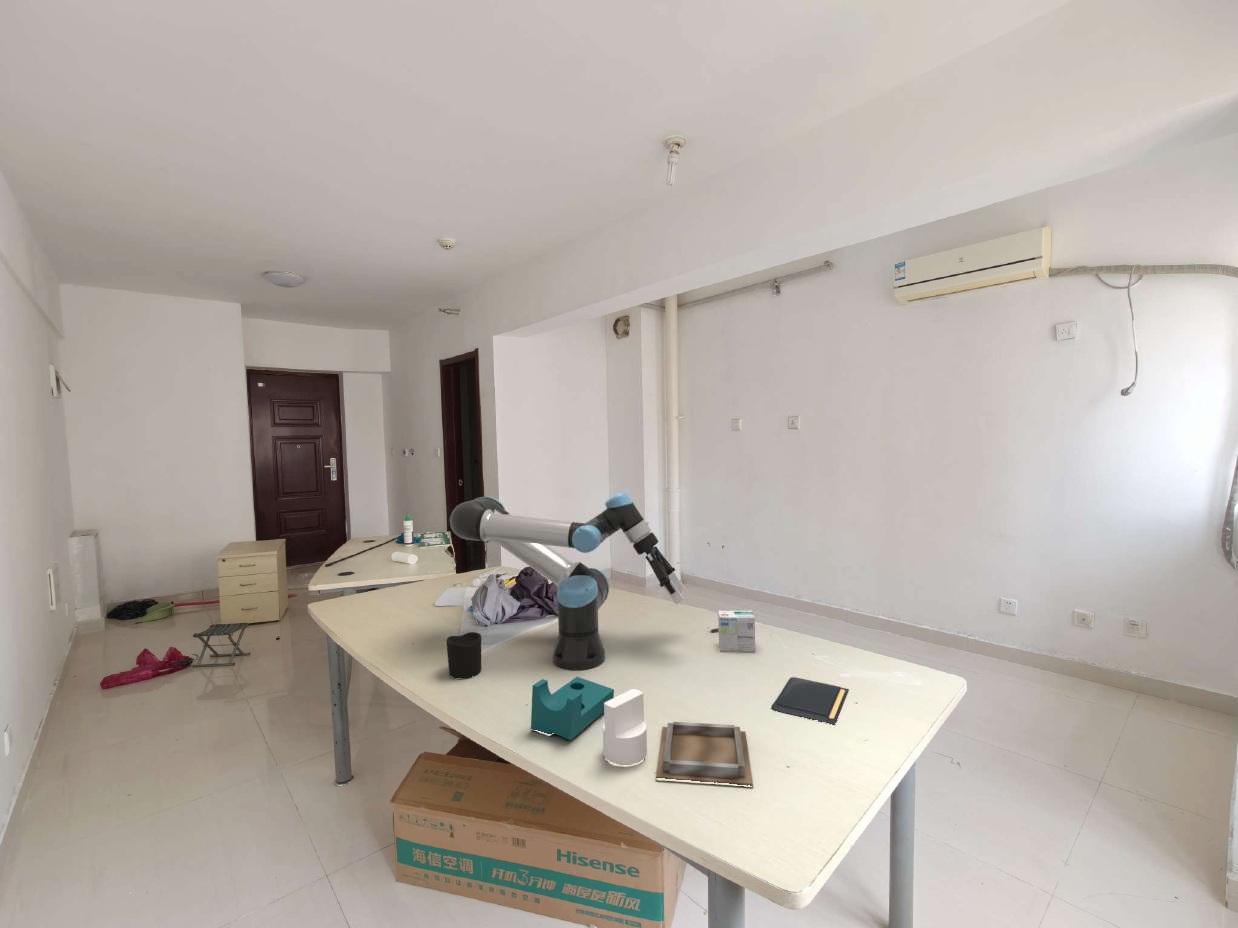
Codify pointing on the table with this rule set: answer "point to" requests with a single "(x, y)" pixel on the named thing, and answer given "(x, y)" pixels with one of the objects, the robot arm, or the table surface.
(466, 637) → the pen holder
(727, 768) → the plate
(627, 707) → the cylinder with rectangular tab
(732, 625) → the light bulb box
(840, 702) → the wallet
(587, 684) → the teal l-shaped bracket
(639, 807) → the table surface
